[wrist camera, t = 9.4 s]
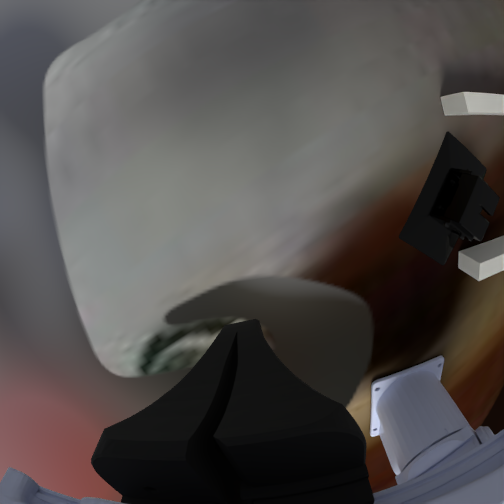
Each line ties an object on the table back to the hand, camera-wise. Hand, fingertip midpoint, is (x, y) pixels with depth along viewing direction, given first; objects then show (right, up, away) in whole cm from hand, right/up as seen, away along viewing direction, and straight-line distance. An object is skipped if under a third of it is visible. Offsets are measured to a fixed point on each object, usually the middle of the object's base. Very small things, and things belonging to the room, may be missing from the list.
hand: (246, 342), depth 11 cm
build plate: (+15, +8, +8) cm, 19 cm away
